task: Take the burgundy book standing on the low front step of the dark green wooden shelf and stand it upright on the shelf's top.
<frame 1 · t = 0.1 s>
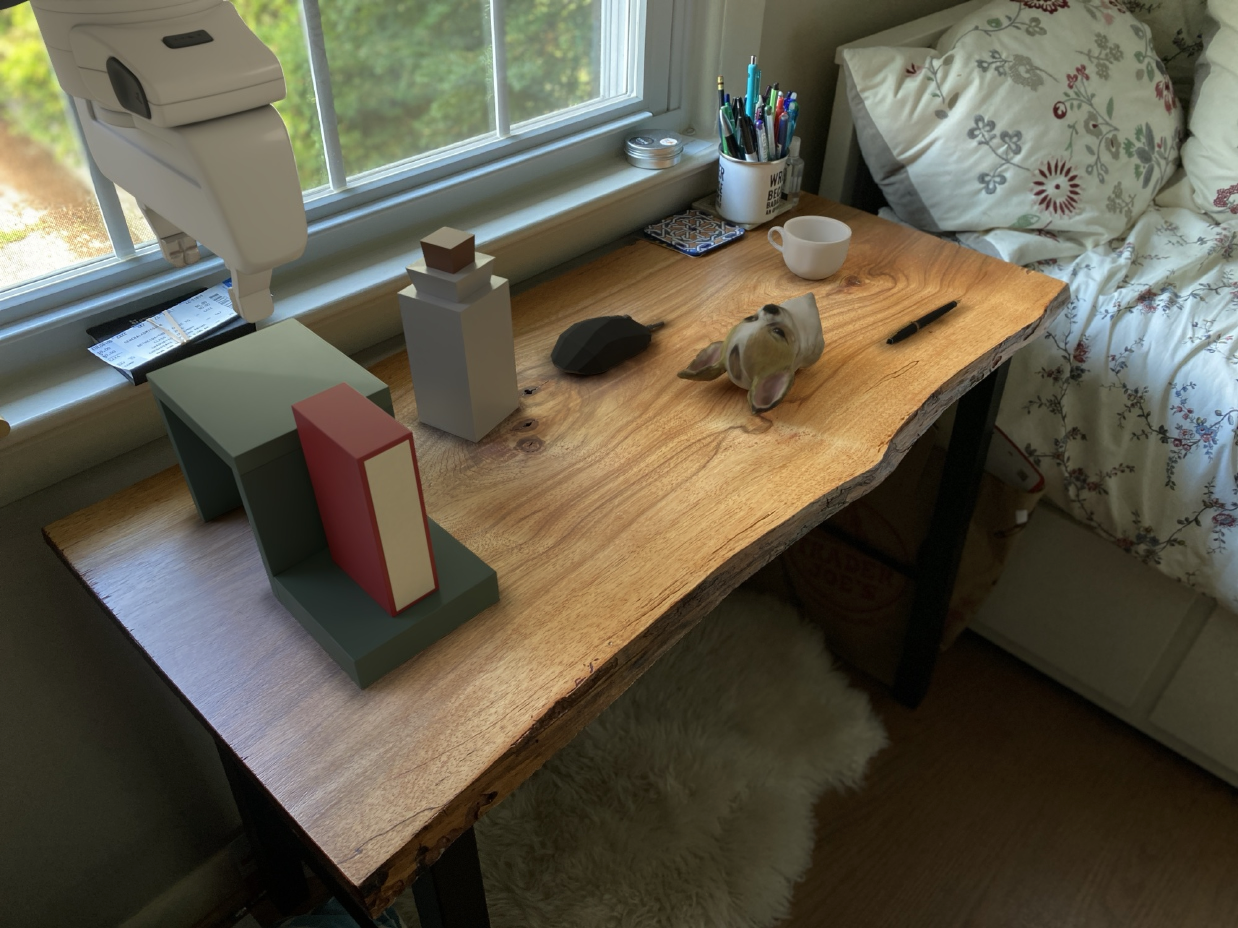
hand: (217, 287, 56), 25 cm above the table, tool pointing down, fingers open, 8 cm apart
shelf: (338, 552, 74), on the table
book: (385, 574, 68), point 3 cm above the table, touching shelf
ceramic sculpture: (760, 384, 93), on the table
fountain pen: (924, 327, 102), on the table
gaming mouse: (612, 350, 98), on the table
teacup: (803, 270, 112), on the table
perfume bottle: (469, 415, 89), on the table
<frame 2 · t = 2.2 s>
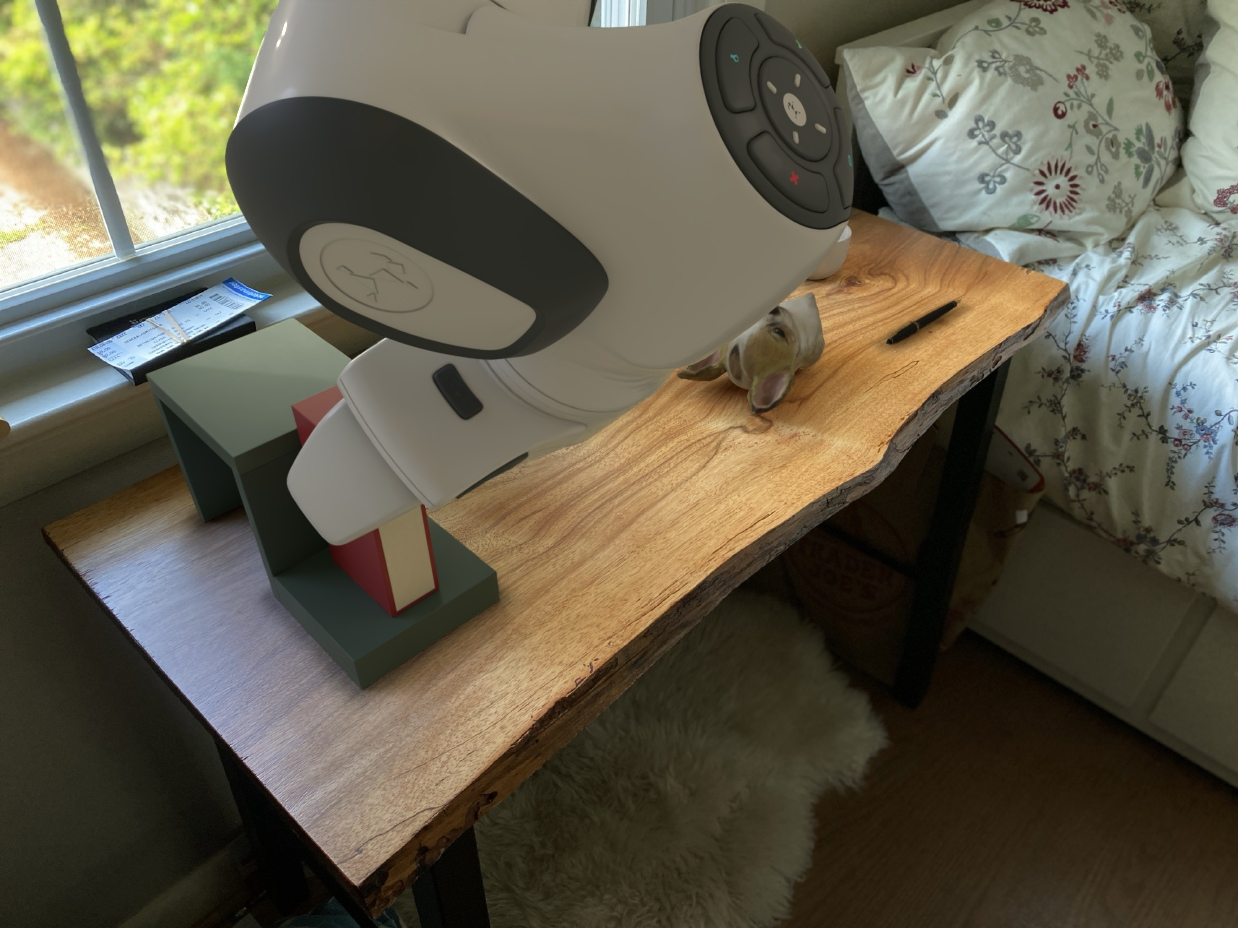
hand: (438, 443, 50), 21 cm above the table, tool tilted 40°, fingers open, 8 cm apart
nothing on the table moved.
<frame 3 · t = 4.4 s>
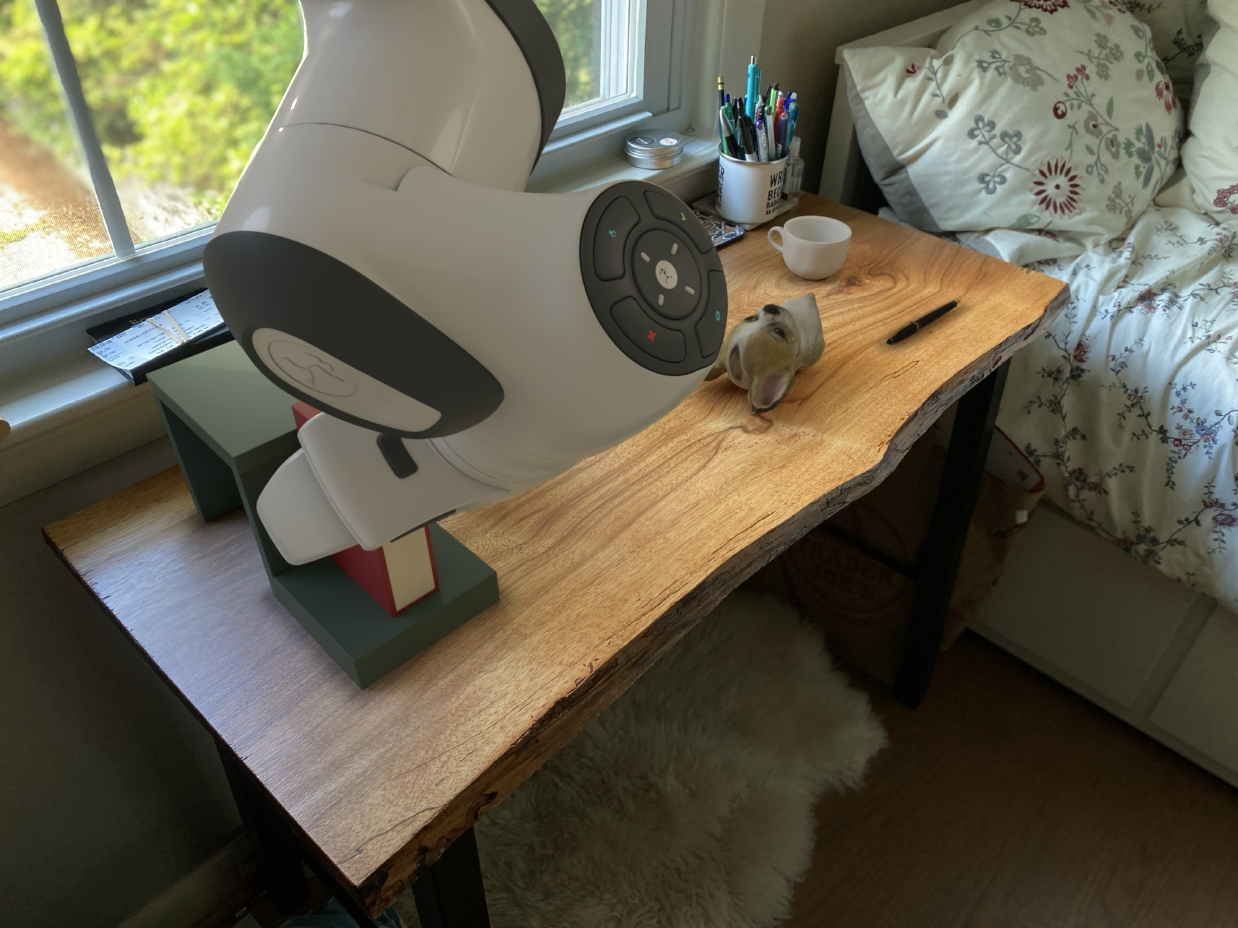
hand: (406, 473, 57), 16 cm above the table, tool tilted 45°, fingers open, 8 cm apart
nothing on the table moved.
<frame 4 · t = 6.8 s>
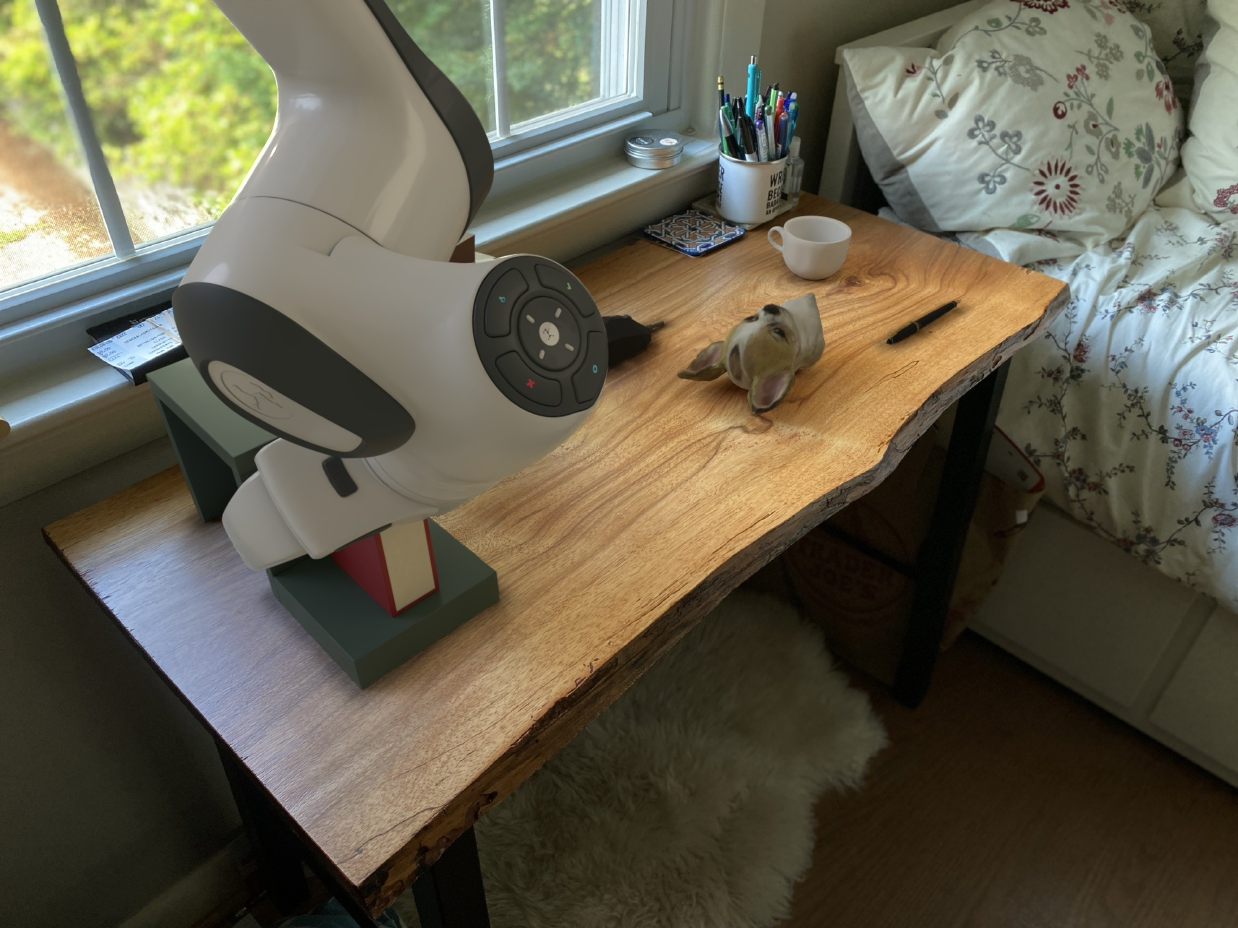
hand: (361, 488, 63), 11 cm above the table, tool tilted 45°, fingers closed on book, 4 cm apart
book: (385, 574, 68), point 3 cm above the table, touching gripper, shelf
everything else where it was.
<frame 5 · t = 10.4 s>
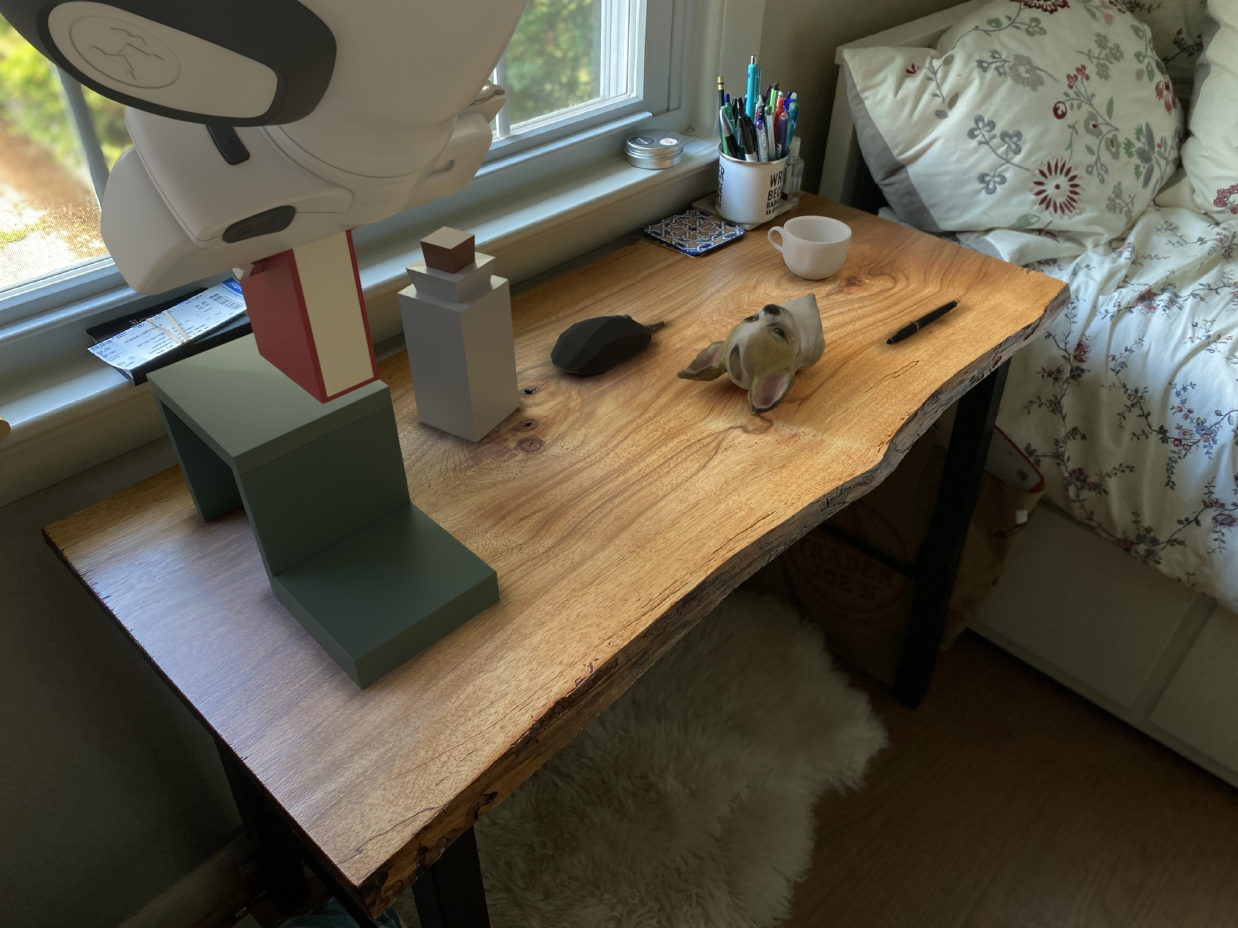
hand: (285, 250, 55), 27 cm above the table, tool tilted 45°, fingers closed on book, 4 cm apart
book: (318, 367, 59), point 19 cm above the table, touching gripper
everything else where it was.
when the fingers open (22 cm above the table, at t = 13.9 s): book stays where it is, resting on shelf.
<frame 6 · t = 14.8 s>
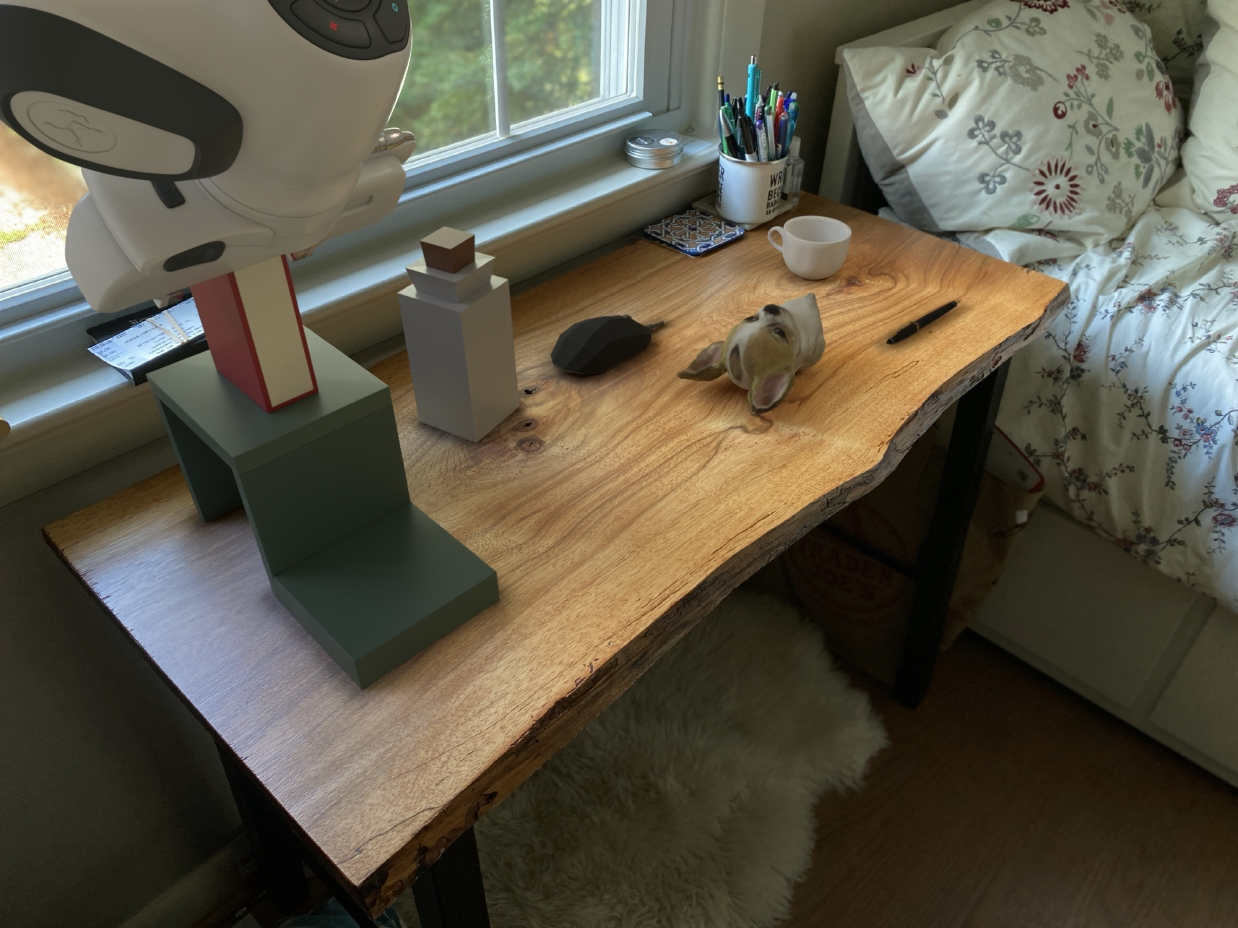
hand: (231, 271, 63), 22 cm above the table, tool tilted 45°, fingers open, 8 cm apart
book: (266, 380, 68), point 14 cm above the table, touching shelf
everything else where it was.
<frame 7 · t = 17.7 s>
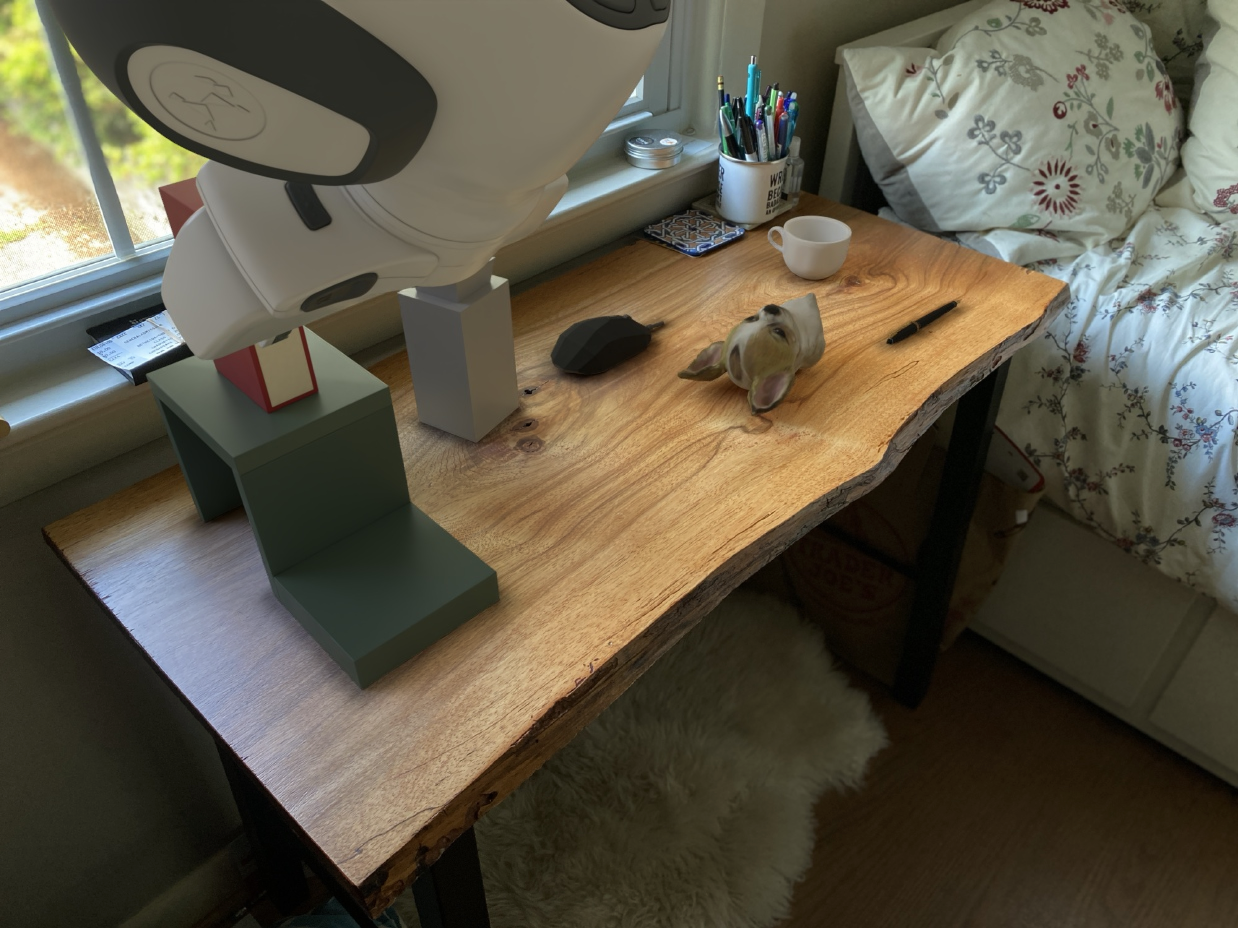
hand: (343, 301, 52), 26 cm above the table, tool tilted 45°, fingers open, 8 cm apart
nothing on the table moved.
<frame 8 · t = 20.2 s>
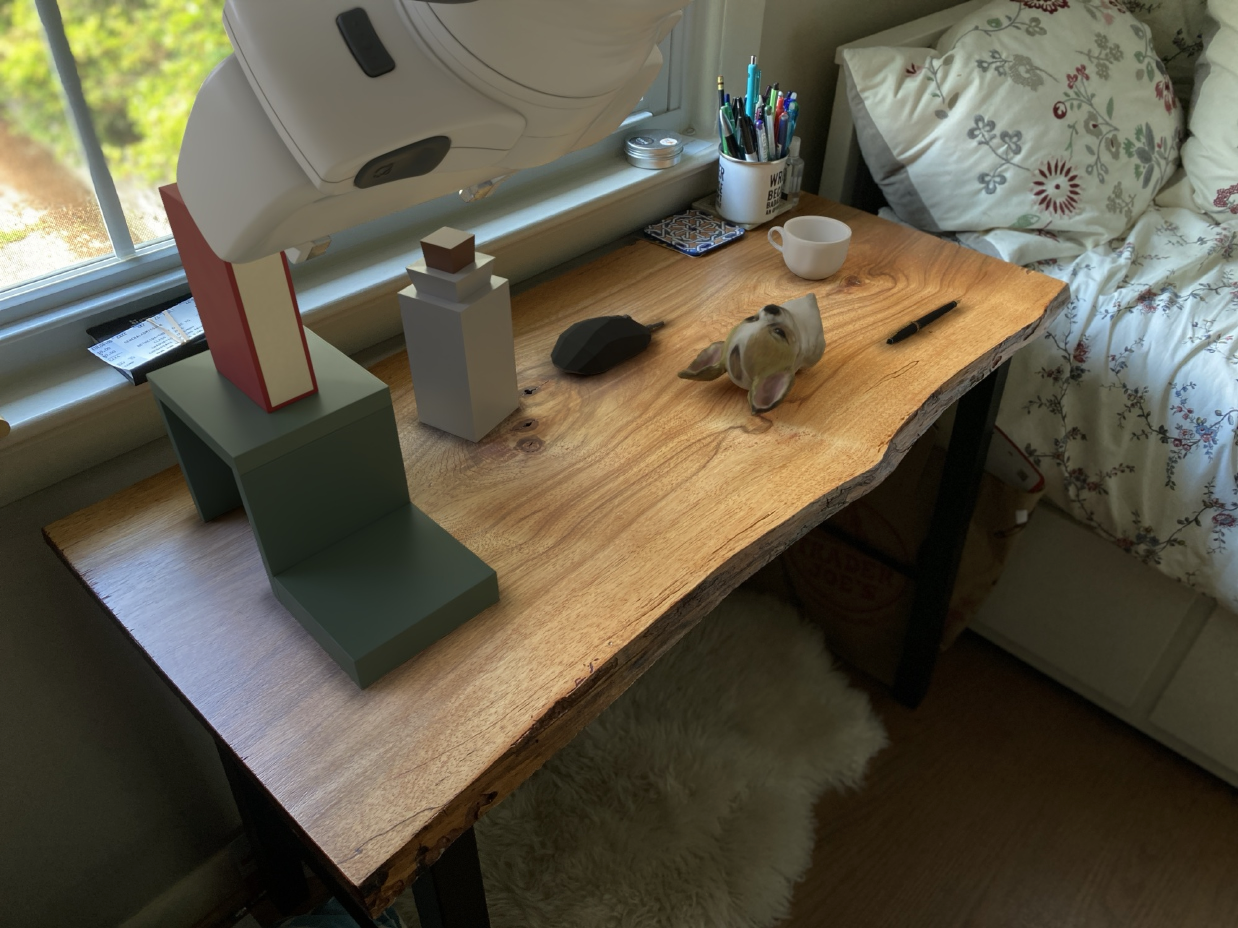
hand: (388, 214, 44), 33 cm above the table, tool tilted 45°, fingers open, 8 cm apart
nothing on the table moved.
at the end: book inside the target area (0.1 cm from its centre), point 14.0 cm above the table; book tilted 0°; the gripper is holding nothing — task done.
